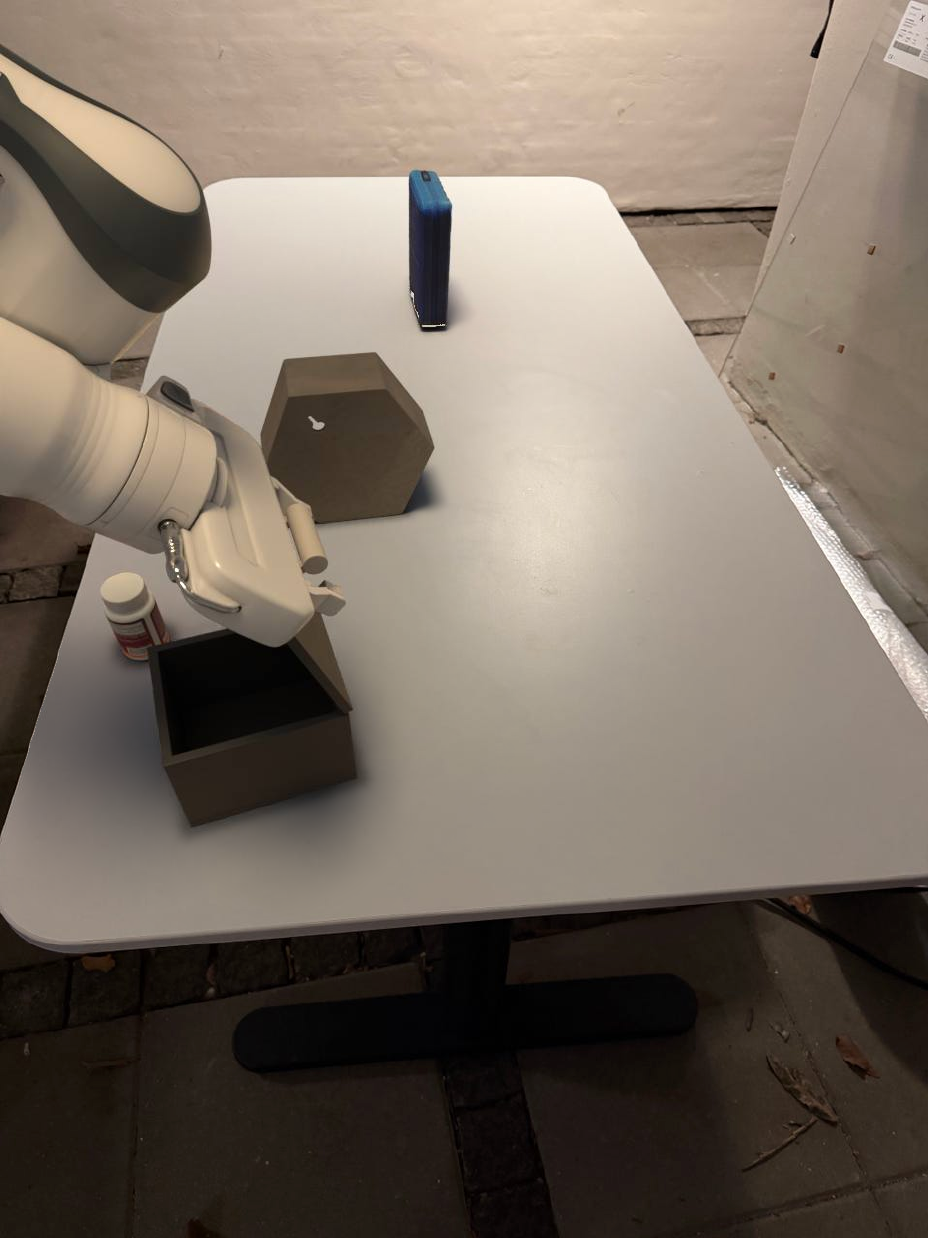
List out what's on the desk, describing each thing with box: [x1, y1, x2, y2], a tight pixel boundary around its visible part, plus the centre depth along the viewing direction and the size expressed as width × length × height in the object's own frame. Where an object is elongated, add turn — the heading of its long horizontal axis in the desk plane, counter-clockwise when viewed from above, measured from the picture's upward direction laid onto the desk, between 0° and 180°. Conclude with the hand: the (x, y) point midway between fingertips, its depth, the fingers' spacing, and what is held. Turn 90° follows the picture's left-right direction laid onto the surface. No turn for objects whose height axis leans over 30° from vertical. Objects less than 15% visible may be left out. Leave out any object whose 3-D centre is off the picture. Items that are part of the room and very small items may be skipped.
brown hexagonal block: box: [259, 351, 435, 524], centre depth 90 cm, size 17×8×21 cm
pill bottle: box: [99, 572, 170, 661], centre depth 76 cm, size 5×5×8 cm
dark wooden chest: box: [147, 627, 358, 828], centre depth 68 cm, size 15×13×10 cm
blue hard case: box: [408, 169, 453, 329], centre depth 122 cm, size 14×5×20 cm, turn 11°
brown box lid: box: [284, 503, 354, 714], centre depth 60 cm, size 16×13×5 cm
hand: (322, 559), depth 58 cm, fingers open, 8 cm apart
